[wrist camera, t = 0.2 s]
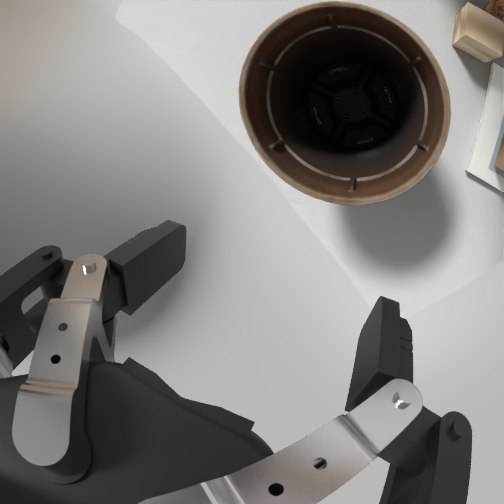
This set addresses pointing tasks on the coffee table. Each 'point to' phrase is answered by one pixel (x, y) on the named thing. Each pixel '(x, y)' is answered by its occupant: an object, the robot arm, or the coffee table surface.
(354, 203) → the plant pot
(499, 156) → the walnut plinth
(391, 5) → the coffee table surface
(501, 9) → the lion figurine
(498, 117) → the board
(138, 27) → the coffee table surface
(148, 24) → the coffee table surface
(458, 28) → the oak block
